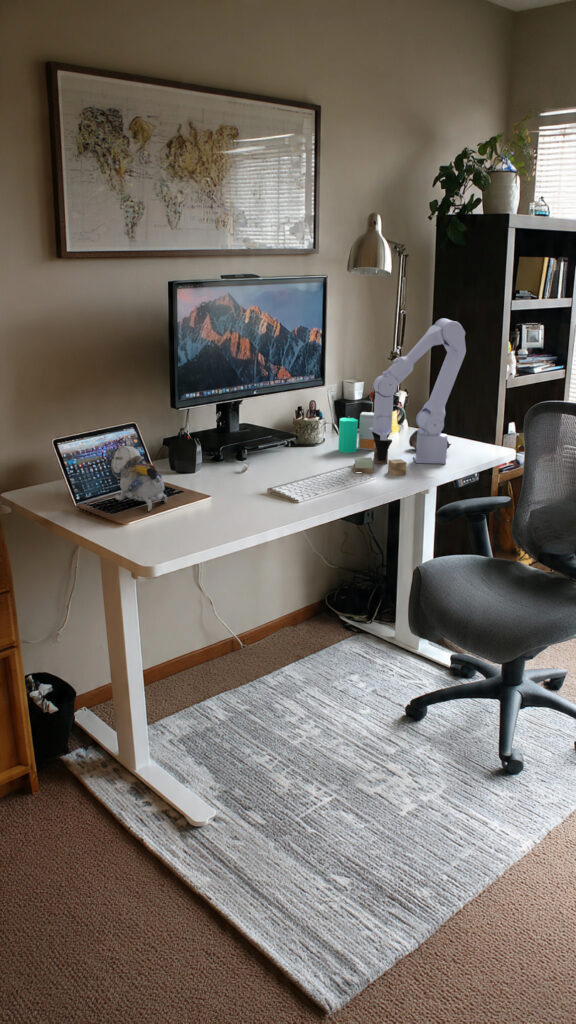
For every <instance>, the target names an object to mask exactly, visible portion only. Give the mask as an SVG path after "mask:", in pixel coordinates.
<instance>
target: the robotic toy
mask: <svg viewBox="0 0 576 1024" xmlns="http://www.w3.org/2000/svg"><path fill="white" fill-rule="evenodd" d="M107 455H108V456H110V459H111V460H110V461H111V462H110V467H111V472H112V475H113V476H115V477H116V478H118V479H120V482H119V488H120V489H121V492H120V495H119V494H116V495H115V496H114V498H115V499H116V500H118V501H124V500H125V499H127V498H128V499H131V500H136V501H139V502H145V503H146V505H147V510H148V511H149V510H151V511H152V509H153V502H159V501H160V500H161V501H164V502H163V503H166V502H167V501H168V495H167V494H168V492H167V489H166V488H165V483H164V481H163V477H162V475H161V474H159V472H158V471H157V470H156V469H157V468H156V465H154V464H151V463H150V462H147V463H146V461H145V460H143V459H142V456H141V453H140V451H138V449H136V448H135V447H133V446H130V445H124V446H123V445H119V446H118V445H117V447H116V448H115V449H114V448H109V449H108V451H107ZM141 461H143V462H145V463H143V462H142V463H140V462H141ZM114 472H115V473H114ZM119 473H120V475H119ZM164 491H165V492H166V494H165V493H164ZM165 501H166V502H165Z"/></svg>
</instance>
